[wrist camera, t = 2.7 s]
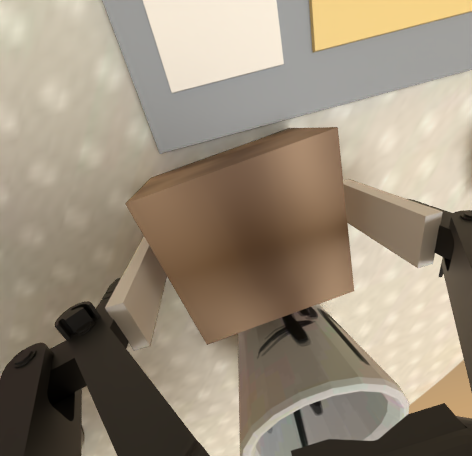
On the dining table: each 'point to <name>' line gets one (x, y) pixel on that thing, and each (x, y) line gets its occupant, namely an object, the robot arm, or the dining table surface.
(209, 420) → the dining table surface
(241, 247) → the walnut slab
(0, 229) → the dining table surface
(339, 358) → the mug
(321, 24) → the board
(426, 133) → the dining table surface
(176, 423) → the robot arm
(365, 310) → the dining table surface
